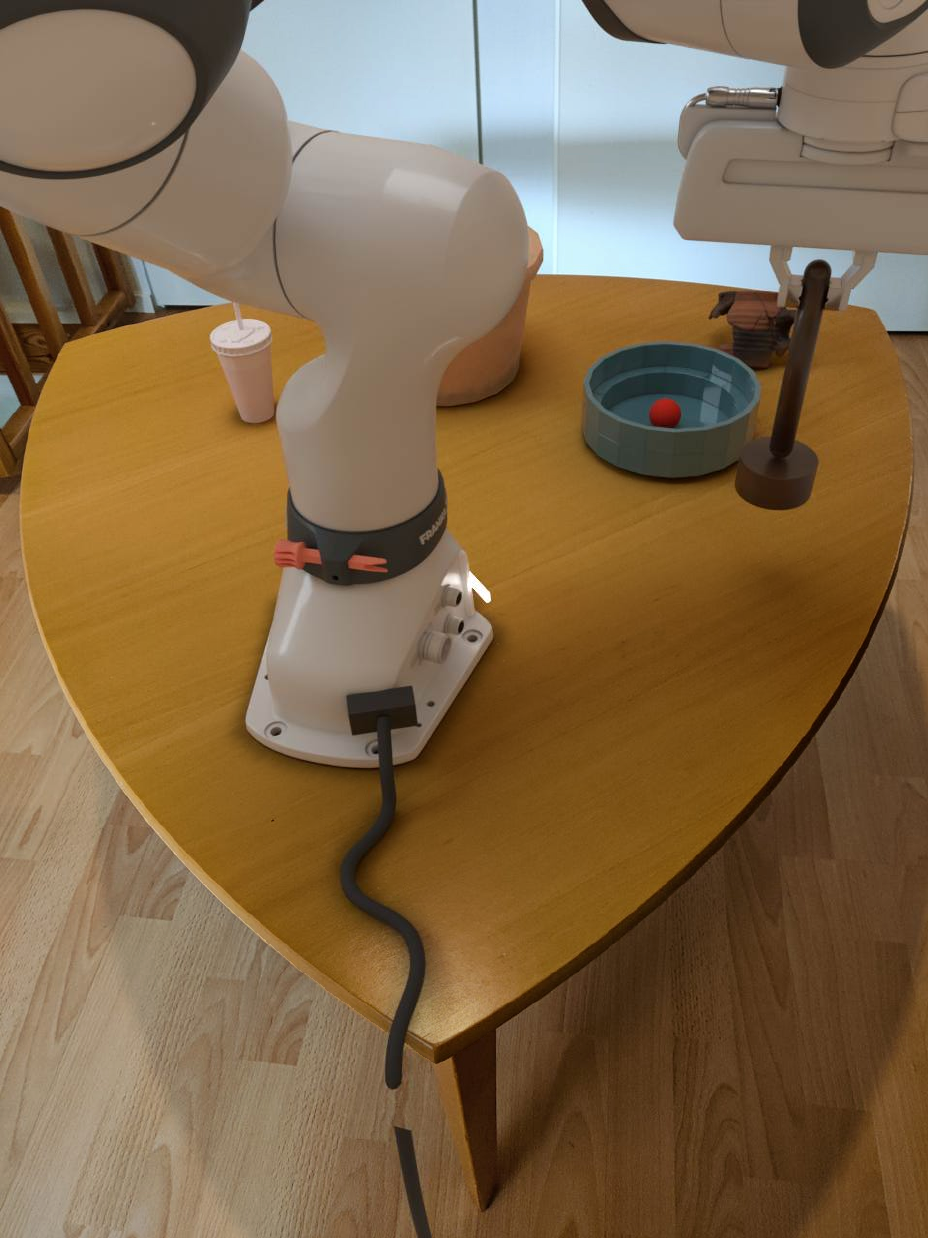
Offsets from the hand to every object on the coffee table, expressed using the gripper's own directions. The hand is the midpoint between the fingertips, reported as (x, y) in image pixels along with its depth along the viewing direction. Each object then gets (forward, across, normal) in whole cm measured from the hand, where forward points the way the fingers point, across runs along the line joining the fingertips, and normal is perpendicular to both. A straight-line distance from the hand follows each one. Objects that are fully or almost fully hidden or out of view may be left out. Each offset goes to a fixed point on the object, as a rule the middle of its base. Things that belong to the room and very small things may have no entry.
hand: (811, 305), depth 70 cm
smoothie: (+25, -54, +16) cm, 62 cm away
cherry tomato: (+22, -10, +20) cm, 32 cm away
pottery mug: (+24, -2, +39) cm, 46 cm away
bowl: (+24, -10, +20) cm, 33 cm away
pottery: (+25, -36, +29) cm, 53 cm away
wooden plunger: (+16, 0, 0) cm, 16 cm away
